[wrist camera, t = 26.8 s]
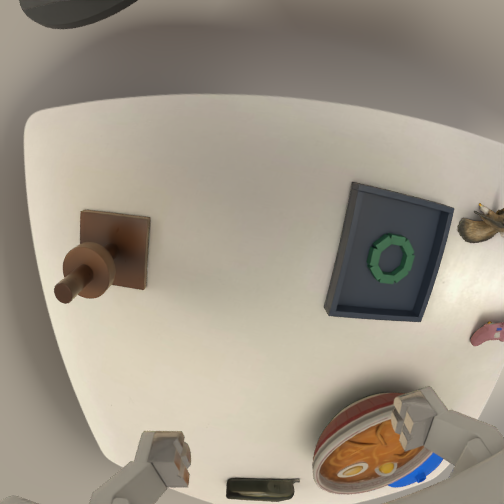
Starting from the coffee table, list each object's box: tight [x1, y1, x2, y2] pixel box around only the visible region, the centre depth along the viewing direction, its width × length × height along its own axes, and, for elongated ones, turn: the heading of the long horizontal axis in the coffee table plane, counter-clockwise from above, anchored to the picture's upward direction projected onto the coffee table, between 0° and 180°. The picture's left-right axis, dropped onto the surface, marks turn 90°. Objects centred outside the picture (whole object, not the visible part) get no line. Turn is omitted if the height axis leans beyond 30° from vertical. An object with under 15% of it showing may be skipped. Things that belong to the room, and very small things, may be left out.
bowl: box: [312, 393, 433, 494], centre depth 44 cm, size 23×23×10 cm
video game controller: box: [471, 322, 504, 346], centre depth 42 cm, size 10×5×7 cm, turn 86°
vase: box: [388, 453, 443, 487], centre depth 52 cm, size 16×16×7 cm
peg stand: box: [54, 210, 150, 304], centre depth 31 cm, size 9×9×14 cm
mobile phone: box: [226, 478, 300, 502], centre depth 51 cm, size 5×3×15 cm
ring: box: [367, 233, 415, 284], centre depth 39 cm, size 6×6×1 cm
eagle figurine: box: [458, 203, 504, 243], centre depth 36 cm, size 8×7×9 cm
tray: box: [324, 182, 454, 322], centre depth 39 cm, size 17×15×2 cm
